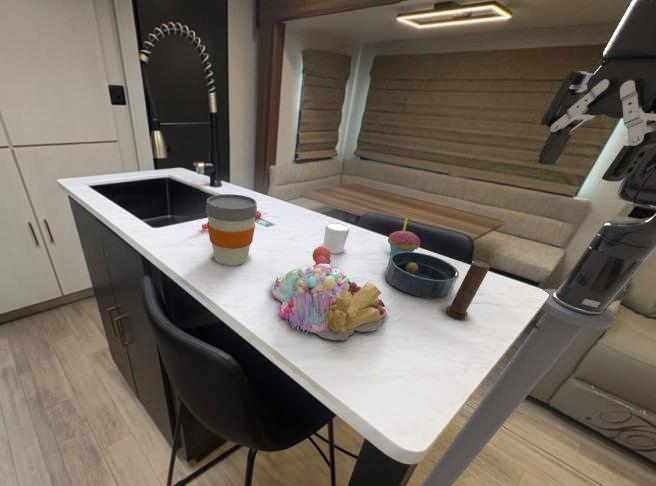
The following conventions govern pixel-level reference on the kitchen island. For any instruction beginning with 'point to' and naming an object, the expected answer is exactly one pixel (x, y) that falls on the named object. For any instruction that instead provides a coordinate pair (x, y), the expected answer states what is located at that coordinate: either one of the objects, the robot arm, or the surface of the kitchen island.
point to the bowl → (421, 274)
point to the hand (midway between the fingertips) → (575, 171)
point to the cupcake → (403, 240)
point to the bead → (411, 268)
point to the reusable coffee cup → (231, 227)
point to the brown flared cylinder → (467, 290)
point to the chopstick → (204, 226)
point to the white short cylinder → (335, 237)
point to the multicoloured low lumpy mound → (328, 300)
